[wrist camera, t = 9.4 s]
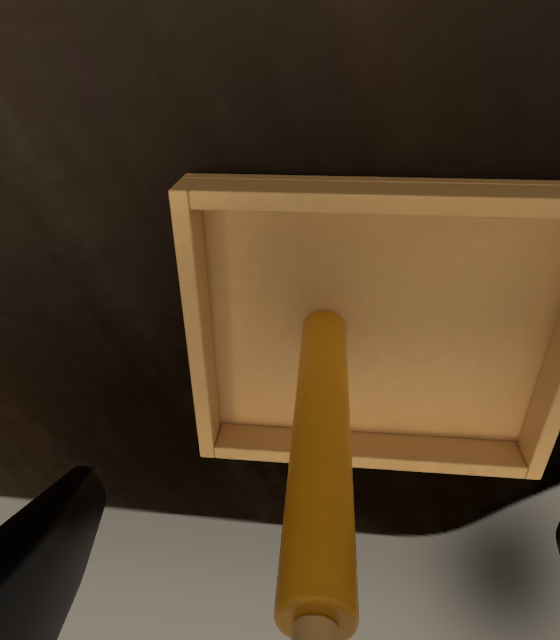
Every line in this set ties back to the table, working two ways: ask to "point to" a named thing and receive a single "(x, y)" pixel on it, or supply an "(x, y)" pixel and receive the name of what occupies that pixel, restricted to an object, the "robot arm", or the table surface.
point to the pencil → (319, 495)
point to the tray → (376, 314)
